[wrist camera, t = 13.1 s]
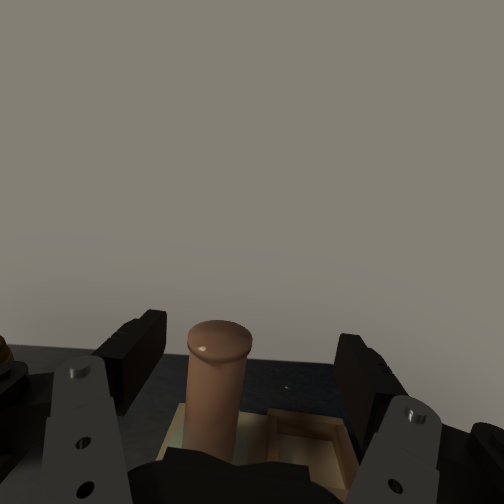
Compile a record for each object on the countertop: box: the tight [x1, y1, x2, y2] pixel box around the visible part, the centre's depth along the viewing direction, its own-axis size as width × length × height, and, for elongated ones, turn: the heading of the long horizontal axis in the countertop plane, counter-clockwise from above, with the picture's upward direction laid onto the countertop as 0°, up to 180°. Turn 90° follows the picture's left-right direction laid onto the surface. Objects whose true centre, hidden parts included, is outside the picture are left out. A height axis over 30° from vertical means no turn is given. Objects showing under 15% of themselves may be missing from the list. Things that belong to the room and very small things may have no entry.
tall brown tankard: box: [182, 320, 252, 464], centre depth 27 cm, size 6×8×14 cm
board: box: [156, 403, 360, 503], centre depth 28 cm, size 22×12×4 cm, turn 87°
